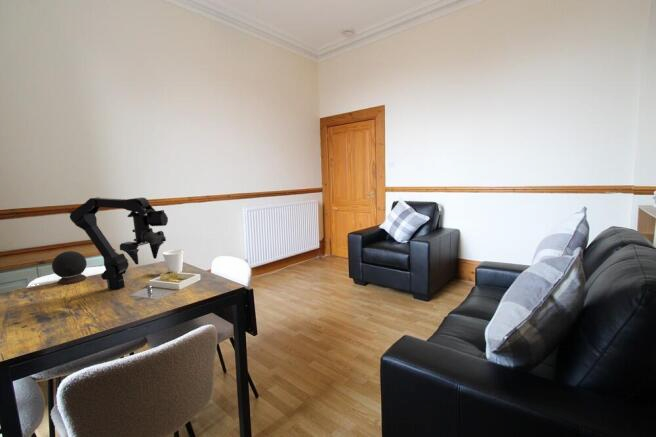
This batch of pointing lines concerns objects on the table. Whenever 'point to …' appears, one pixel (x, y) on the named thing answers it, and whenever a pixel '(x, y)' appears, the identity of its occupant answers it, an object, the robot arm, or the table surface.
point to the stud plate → (152, 293)
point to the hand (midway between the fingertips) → (146, 261)
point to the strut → (170, 277)
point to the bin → (171, 285)
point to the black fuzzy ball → (69, 267)
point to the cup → (174, 260)
